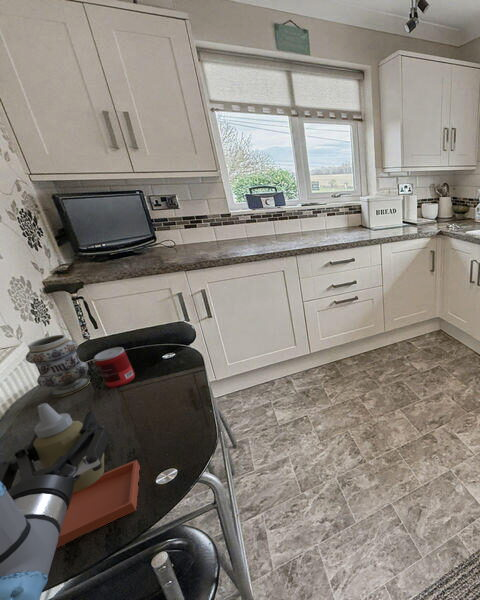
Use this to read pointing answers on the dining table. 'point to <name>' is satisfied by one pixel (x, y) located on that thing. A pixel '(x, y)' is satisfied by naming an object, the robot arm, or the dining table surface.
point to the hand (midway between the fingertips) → (68, 425)
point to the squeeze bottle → (60, 442)
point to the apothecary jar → (58, 364)
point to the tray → (101, 502)
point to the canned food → (114, 367)
